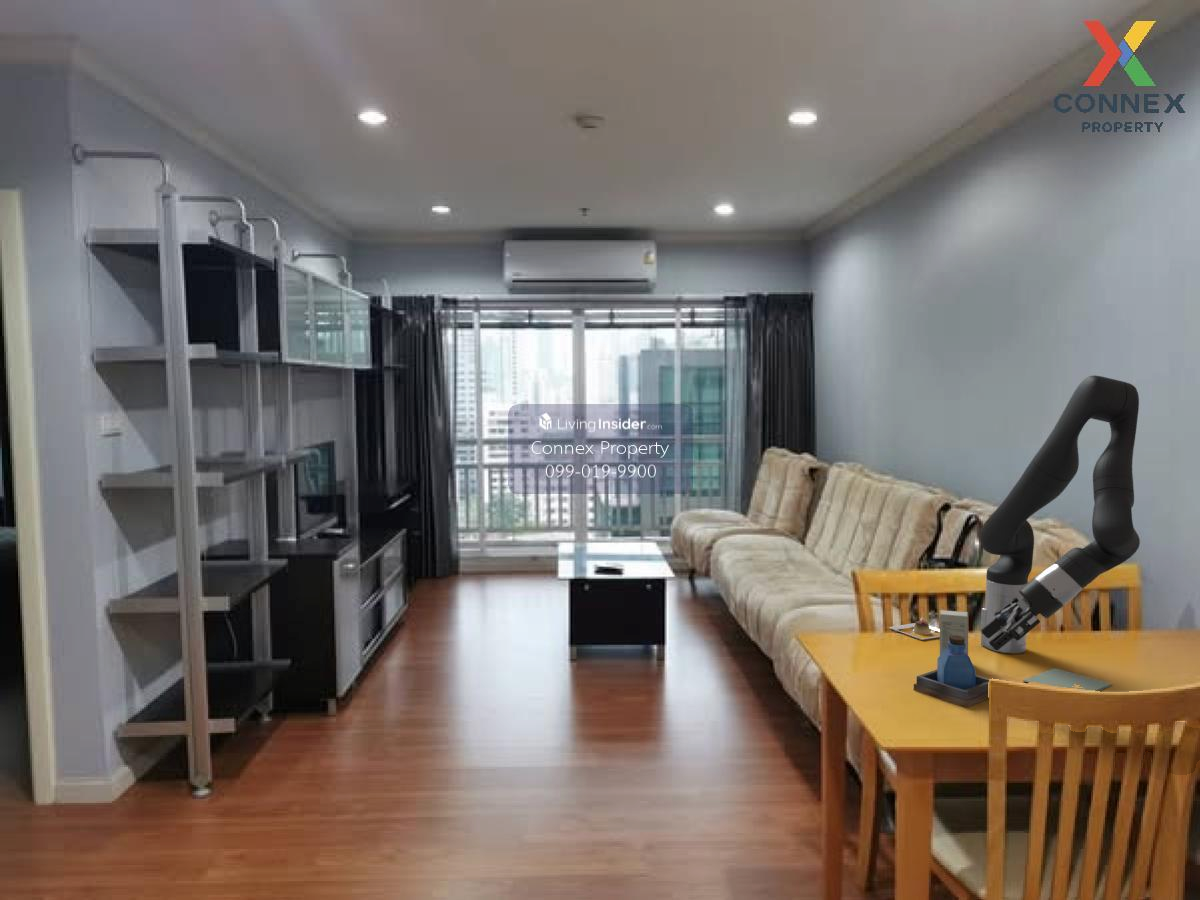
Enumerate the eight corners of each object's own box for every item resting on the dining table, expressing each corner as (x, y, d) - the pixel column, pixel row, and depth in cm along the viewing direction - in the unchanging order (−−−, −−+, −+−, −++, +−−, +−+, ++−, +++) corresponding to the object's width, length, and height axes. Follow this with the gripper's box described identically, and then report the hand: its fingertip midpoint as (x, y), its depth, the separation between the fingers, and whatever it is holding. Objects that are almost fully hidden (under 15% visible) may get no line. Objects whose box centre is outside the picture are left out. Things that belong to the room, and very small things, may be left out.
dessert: (922, 643, 204) (922, 625, 204) (888, 631, 215) (888, 613, 215) (956, 637, 209) (956, 620, 209) (921, 625, 220) (921, 609, 220)
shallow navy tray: (913, 689, 170) (913, 676, 170) (945, 678, 177) (946, 665, 177) (966, 707, 160) (966, 693, 160) (997, 694, 167) (998, 681, 167)
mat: (1022, 682, 175) (1022, 680, 174) (1054, 669, 182) (1054, 668, 182) (1080, 698, 165) (1080, 697, 165) (1111, 685, 172) (1111, 683, 172)
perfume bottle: (974, 698, 165) (976, 642, 164) (943, 696, 166) (944, 641, 165) (967, 688, 171) (968, 634, 170) (936, 686, 172) (938, 632, 171)
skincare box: (968, 662, 188) (969, 611, 187) (968, 667, 184) (969, 616, 183) (938, 658, 190) (940, 608, 190) (938, 664, 187) (939, 613, 186)
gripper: (1027, 569, 170) (968, 618, 173) (1045, 584, 156) (981, 637, 160) (1054, 595, 169) (994, 644, 172) (1075, 612, 155) (1009, 664, 159)
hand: (988, 640), depth 166 cm, fingers open, 8 cm apart
